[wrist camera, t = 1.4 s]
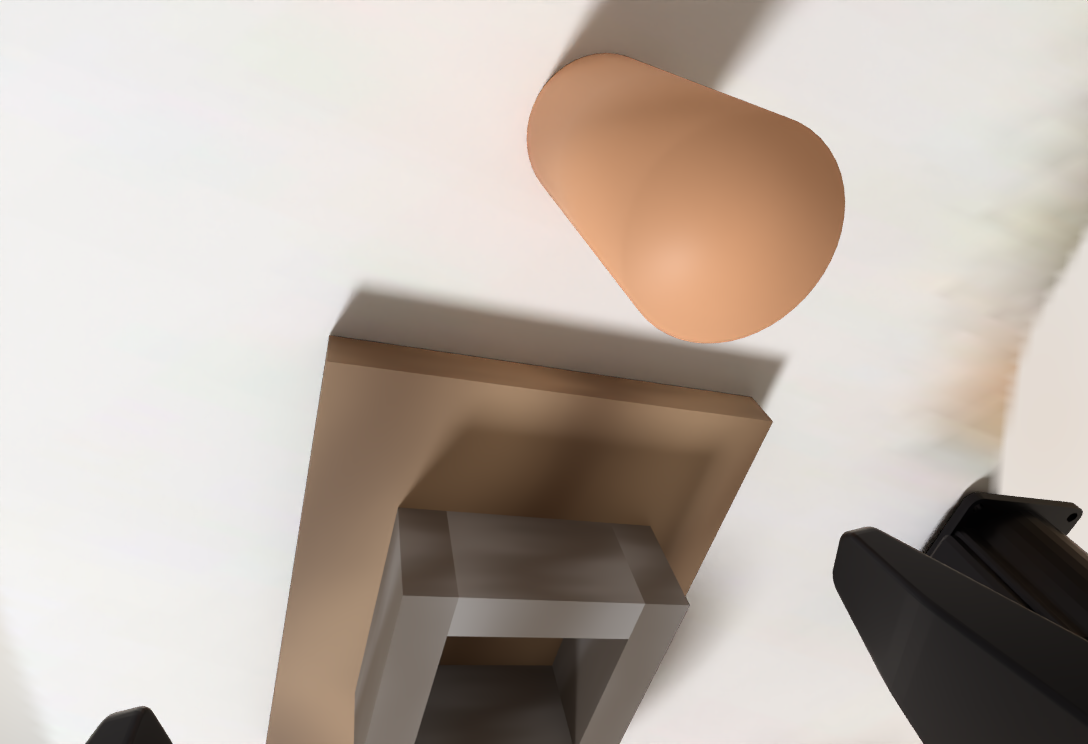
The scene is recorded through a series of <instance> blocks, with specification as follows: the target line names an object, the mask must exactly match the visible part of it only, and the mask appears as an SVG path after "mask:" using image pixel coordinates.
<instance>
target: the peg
mask: <svg viewBox="0 0 1088 744" xmlns="http://www.w3.org/2000/svg"><path fill="white" fill-rule="evenodd" d="M527 149H528V155H529V159H530V162H531V165H532V168H533V170H534V172H535V175H536V177H537V178H538V180H539V181H540V183H541V184H542V186H543V187H544V188H545V189H546V191H547V192H548V193H549V195H550V196H551V197H552V199H553V200H554V201H555V202H556V204H557V205H558V206H559V208H560V209H561V210H562V212H563V213H564V214H565V215H566V217H567V218H568V219H569V221H570V222H571V223H572V225H573V226H574V227H575V228H576V230H577V231H578V232H579V234H580V235H581V236H582V238H583V239H584V240H585V241H586V243H587V244H588V245H589V247H590V248H591V249H592V251H593V252H594V253H595V254H596V256H597V257H598V258H599V260H600V261H601V262H602V264H603V265H604V266H605V267H606V269H607V270H608V271H609V273H610V274H611V275H612V277H613V278H614V279H615V280H616V282H617V283H618V284H619V286H620V287H621V288H622V290H623V291H624V292H625V293H626V295H627V296H628V297H629V299H630V300H631V301H632V303H633V304H634V305H635V306H636V308H637V309H638V310H639V311H640V313H641V314H642V315H643V316H644V317H645V318H646V319H647V320H648V321H649V322H650V323H651V324H653V325H654V326H655V327H656V328H658V329H659V330H661V331H663V332H664V333H666V334H668V335H670V336H673V337H675V338H678V339H681V340H685V341H689V342H696V343H721V342H728V341H733V340H737V339H740V338H744V337H747V336H749V335H752V334H754V333H757V332H759V331H761V330H763V329H765V328H767V327H769V326H771V325H772V324H774V323H775V322H777V321H778V320H780V319H781V318H783V317H784V316H785V315H787V314H788V313H789V312H790V311H792V310H793V309H794V308H795V307H796V306H797V305H798V304H799V303H800V302H801V301H802V300H803V299H804V298H805V297H806V296H807V295H808V294H809V293H810V291H811V290H812V289H813V288H814V287H815V285H816V284H817V283H818V281H819V280H820V278H821V277H822V275H823V274H824V272H825V270H826V268H827V267H828V265H829V263H830V261H831V259H832V257H833V255H834V252H835V250H836V247H837V245H838V241H839V238H840V235H841V231H842V226H843V220H844V211H845V195H844V186H843V181H842V176H841V173H840V170H839V167H838V164H837V162H836V160H835V158H834V156H833V154H832V153H831V151H830V149H829V148H828V147H827V145H826V144H825V143H824V142H823V140H822V139H821V138H820V137H819V136H818V135H816V134H815V133H814V132H813V131H812V130H811V129H809V128H808V127H806V126H804V125H803V124H801V123H799V122H797V121H795V120H792V119H790V118H787V117H785V116H782V115H779V114H777V113H774V112H771V111H769V110H766V109H764V108H761V107H758V106H756V105H753V104H750V103H748V102H745V101H743V100H740V99H737V98H735V97H732V96H729V95H727V94H724V93H722V92H719V91H716V90H714V89H711V88H708V87H706V86H703V85H701V84H698V83H695V82H693V81H690V80H687V79H685V78H682V77H679V76H677V75H674V74H672V73H669V72H666V71H664V70H661V69H658V68H656V67H653V66H651V65H648V64H645V63H643V62H640V61H637V60H635V59H632V58H630V57H627V56H623V55H619V54H612V53H601V54H593V55H589V56H585V57H582V58H580V59H577V60H575V61H573V62H571V63H569V64H568V65H566V66H565V67H563V68H562V69H561V70H559V71H558V72H557V73H556V74H555V75H554V76H553V77H552V78H551V79H550V80H549V81H548V82H547V83H546V85H545V86H544V87H543V89H542V90H541V92H540V93H539V95H538V97H537V99H536V101H535V103H534V105H533V108H532V111H531V114H530V117H529V122H528V127H527Z"/></svg>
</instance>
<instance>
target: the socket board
mask: <svg viewBox="0 0 1088 744" xmlns="http://www.w3.org/2000/svg"><path fill="white" fill-rule="evenodd" d="M772 422H773V421H772V420H771V419H770V418H769V416H768V415H767V414H766V413H765V412H764V411H763V410H762V408H761V407H760V406H759V405H758V404H757V403H756V402H755V400H754V399H753V398H752V397H747V396H740V395H733V394H727V393H720V392H713V391H706V390H699V389H692V388H686V387H679V386H672V385H665V384H658V383H651V382H645V381H638V380H631V379H624V378H617V377H610V376H604V375H597V374H590V373H583V372H576V371H569V370H563V369H556V368H549V367H542V366H535V365H528V364H522V363H515V362H508V361H501V360H494V359H487V358H481V357H474V356H467V355H460V354H453V353H446V352H440V351H433V350H426V349H419V348H412V347H405V346H399V345H392V344H385V343H378V342H371V341H364V340H358V339H351V338H344V337H337V336H330V335H329V341H328V347H327V353H326V360H325V366H324V373H323V379H322V386H321V392H320V398H319V405H318V411H317V418H316V424H315V431H314V437H313V444H312V450H311V456H310V463H309V469H308V476H307V482H306V489H305V495H304V501H303V508H302V514H301V521H300V527H299V534H298V540H297V546H296V553H295V559H294V566H293V572H292V579H291V585H290V592H289V598H288V604H287V611H286V617H285V624H284V630H283V637H282V643H281V649H280V656H279V662H278V669H277V675H276V682H275V688H274V695H273V701H272V707H271V714H270V720H269V727H268V733H267V740H266V744H619V743H620V741H621V740H622V738H623V736H624V734H625V732H626V730H627V728H628V726H629V724H630V722H631V720H632V718H633V716H634V714H635V712H636V710H637V708H638V706H639V704H640V702H641V700H642V698H643V696H644V694H645V692H646V690H647V688H648V686H649V685H650V683H651V681H652V679H653V677H654V675H655V673H656V671H657V669H658V667H659V665H660V663H661V661H662V659H663V657H664V655H665V653H666V651H667V649H668V647H669V645H670V643H671V641H672V639H673V637H674V635H675V633H676V631H677V629H678V628H679V626H680V624H681V622H682V620H683V618H684V616H685V614H686V612H687V610H688V608H689V606H690V605H689V603H688V601H687V599H686V597H685V596H686V594H687V592H688V590H689V588H690V586H691V584H692V582H693V580H694V578H695V576H696V574H697V572H698V570H699V568H700V566H701V564H702V562H703V560H704V558H705V556H706V554H707V552H708V550H709V548H710V546H711V544H712V542H713V540H714V538H715V536H716V534H717V532H718V530H719V528H720V526H721V524H722V522H723V520H724V518H725V516H726V514H727V512H728V510H729V508H730V506H731V504H732V502H733V500H734V498H735V496H736V494H737V492H738V490H739V488H740V486H741V484H742V482H743V480H744V478H745V476H746V474H747V472H748V470H749V468H750V466H751V464H752V462H753V460H754V458H755V456H756V454H757V452H758V450H759V448H760V446H761V444H762V442H763V440H764V438H765V436H766V434H767V432H768V430H769V428H770V426H771V424H772Z"/></svg>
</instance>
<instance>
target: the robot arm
mask: <svg viewBox="0 0 1088 744" xmlns="http://www.w3.org/2000/svg"><path fill="white" fill-rule="evenodd" d="M1082 513H1083V511H1082V509H1080V508H1079V507H1078V506H1076V505H1075V504H1074V503H1070V502H1062V501H1052V500H1043V499H1034V498H1024V497H1015V496H1007V495H997V494H988V493H979V492H976V493H972V494H970V495H968V496H967V497H965V498H964V500H963V501H962V502H961V504H960V505H959V506H958V508H957V509H956V511H955V512H954V514H953V515H952V517H951V518H950V520H949V521H948V523H947V524H946V525H945V527H944V528H943V530H942V531H941V533H940V534H939V536H938V537H937V539H936V540H935V542H934V543H933V544H932V546H931V547H930V549H929V550H928V552H927V553H926V554H924V553H922V552H920V551H918V550H917V549H915V548H913V547H911V546H909V545H907V544H905V543H903V542H902V541H900V540H898V539H896V538H894V537H892V536H890V535H888V534H887V533H885V532H883V531H881V530H879V529H877V528H874V527H863V528H859V529H855V530H851V531H847V532H845V533H844V534H843V535H842V536H841V538H840V541H839V546H838V550H837V554H836V559H835V563H834V568H833V581H834V585H835V588H836V590H837V592H838V594H839V596H840V598H841V600H842V602H843V603H844V605H845V607H846V609H847V611H848V613H849V615H850V617H851V619H852V621H853V623H854V625H855V627H856V628H857V630H858V632H859V634H860V636H861V638H862V640H863V642H864V644H865V646H866V648H867V650H868V651H869V653H870V655H871V657H872V659H873V661H874V663H875V665H876V667H877V669H878V671H879V673H880V674H881V676H882V678H883V680H884V682H885V683H886V685H887V687H888V689H889V691H890V692H891V694H892V696H893V697H894V699H895V700H896V702H897V704H898V705H899V707H900V708H901V710H902V711H903V713H904V715H905V716H906V718H907V719H908V721H909V722H910V724H911V725H912V727H913V728H914V730H915V731H916V733H917V735H918V736H919V738H920V739H921V741H922V742H923V744H1088V553H1086V552H1085V551H1084V550H1083V549H1082V548H1080V547H1079V546H1078V545H1077V544H1076V543H1074V542H1073V541H1072V540H1070V539H1069V538H1068V537H1067V536H1066V535H1067V534H1068V533H1069V532H1070V530H1071V529H1072V528H1073V527H1074V525H1075V524H1076V523H1077V521H1078V520H1079V519H1080V518H1081V516H1082ZM85 744H172V742H171V740H170V738H169V737H168V735H167V734H166V732H165V730H164V729H163V727H162V726H161V724H160V723H159V721H158V719H157V718H156V716H155V715H154V713H153V712H152V710H151V709H150V708H148V707H145V706H140V707H136V708H132V709H128V710H124V711H119V712H115V713H113V714H111V715H109V716H108V717H106V718H105V719H104V720H103V721H102V722H101V724H100V725H99V726H98V727H97V729H96V730H95V731H94V733H93V734H92V735H91V737H90V738H89V739H88V741H87V742H86V743H85Z"/></svg>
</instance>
